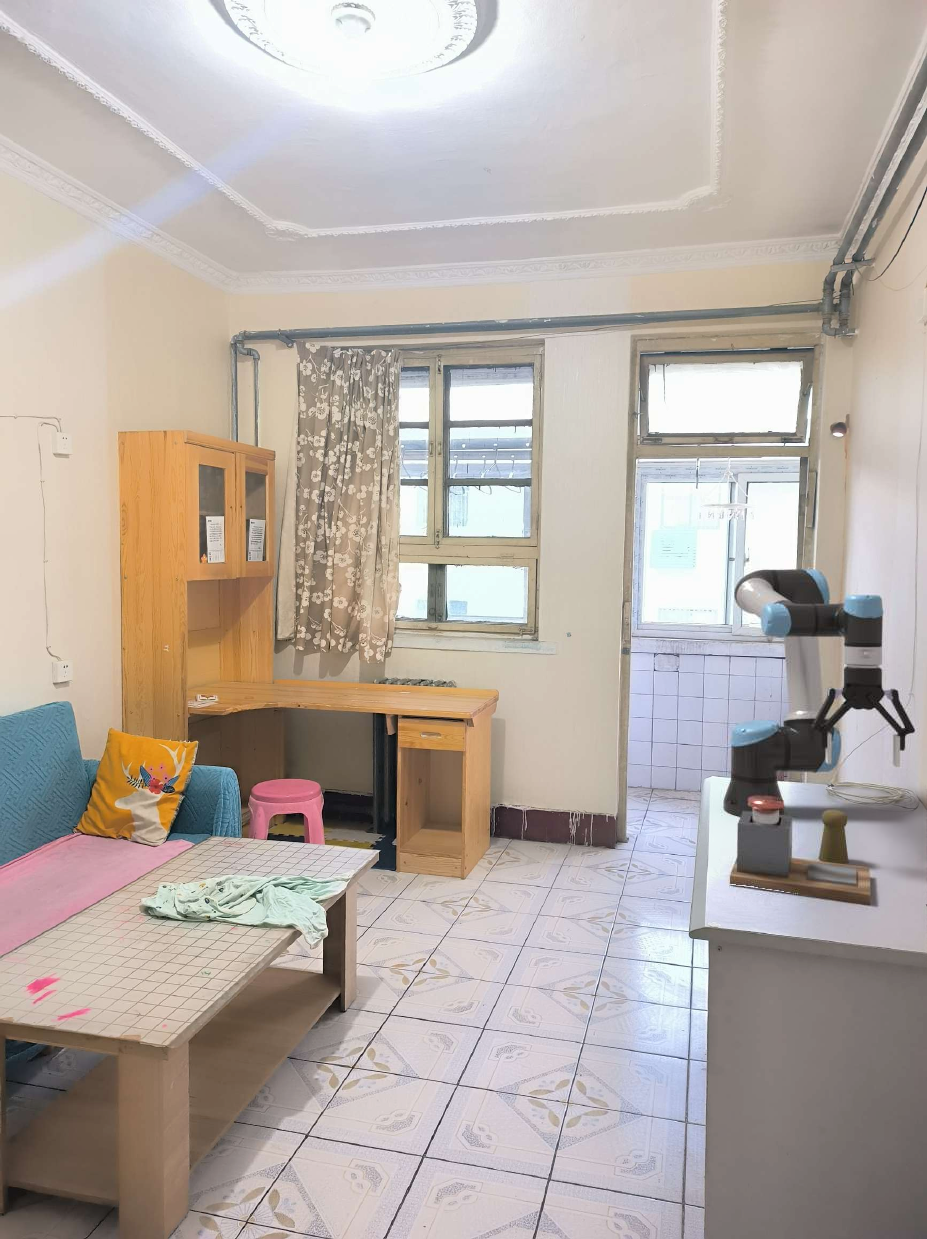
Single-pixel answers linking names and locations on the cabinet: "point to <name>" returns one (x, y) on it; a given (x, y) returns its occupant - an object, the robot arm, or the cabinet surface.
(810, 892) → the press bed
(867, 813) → the cabinet surface
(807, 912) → the cabinet surface
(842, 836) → the olive knobbed peg
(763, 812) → the press plunger
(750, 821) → the grey push button box
